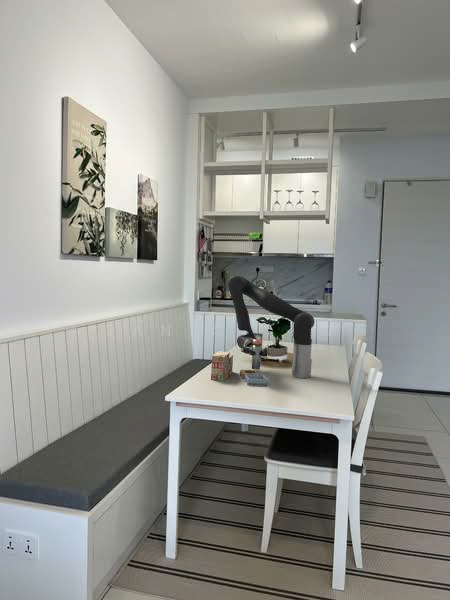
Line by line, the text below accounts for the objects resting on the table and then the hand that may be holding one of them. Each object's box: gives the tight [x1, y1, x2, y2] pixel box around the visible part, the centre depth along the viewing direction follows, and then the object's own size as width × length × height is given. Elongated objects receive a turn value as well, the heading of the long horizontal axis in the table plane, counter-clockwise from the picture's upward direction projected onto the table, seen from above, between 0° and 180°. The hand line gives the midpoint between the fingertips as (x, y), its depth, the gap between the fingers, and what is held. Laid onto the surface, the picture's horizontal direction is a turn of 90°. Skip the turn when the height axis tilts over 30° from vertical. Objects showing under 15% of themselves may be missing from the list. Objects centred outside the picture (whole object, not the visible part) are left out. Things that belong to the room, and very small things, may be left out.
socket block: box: [239, 369, 262, 381], centre depth 240 cm, size 9×9×3 cm
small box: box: [246, 332, 263, 340], centre depth 324 cm, size 11×6×10 cm, turn 80°
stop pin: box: [251, 339, 264, 371], centre depth 229 cm, size 5×5×14 cm
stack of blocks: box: [210, 350, 234, 382], centre depth 241 cm, size 21×6×12 cm, turn 167°
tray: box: [244, 374, 268, 387], centre depth 230 cm, size 9×9×3 cm
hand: (258, 353), depth 226 cm, fingers closed on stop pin, 4 cm apart
